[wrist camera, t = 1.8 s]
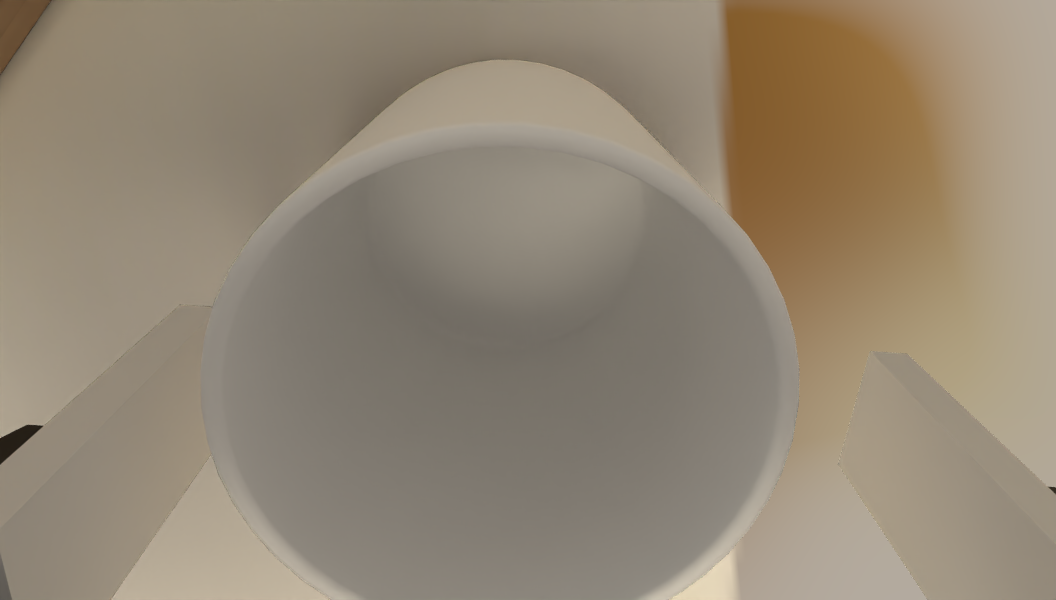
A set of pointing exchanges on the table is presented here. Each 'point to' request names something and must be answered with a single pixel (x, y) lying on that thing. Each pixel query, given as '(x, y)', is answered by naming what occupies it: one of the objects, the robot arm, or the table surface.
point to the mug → (500, 356)
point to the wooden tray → (17, 24)
